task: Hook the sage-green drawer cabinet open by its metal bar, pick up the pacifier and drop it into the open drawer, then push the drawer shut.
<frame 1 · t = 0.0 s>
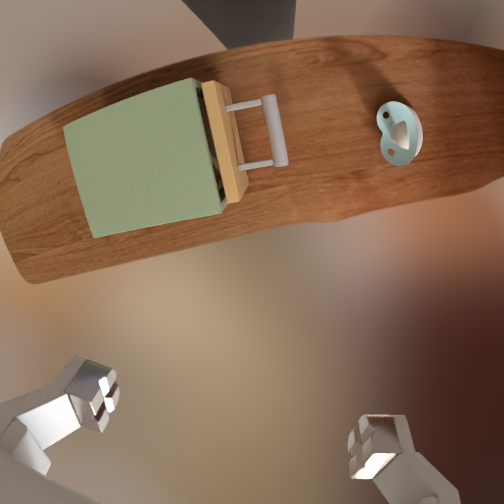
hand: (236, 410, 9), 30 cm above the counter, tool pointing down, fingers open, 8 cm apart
cabinet: (168, 152, 36), on the counter
pacifier: (398, 131, 32), on the counter
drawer: (193, 146, 31), point 5 cm above the counter, slide at 0.5 cm
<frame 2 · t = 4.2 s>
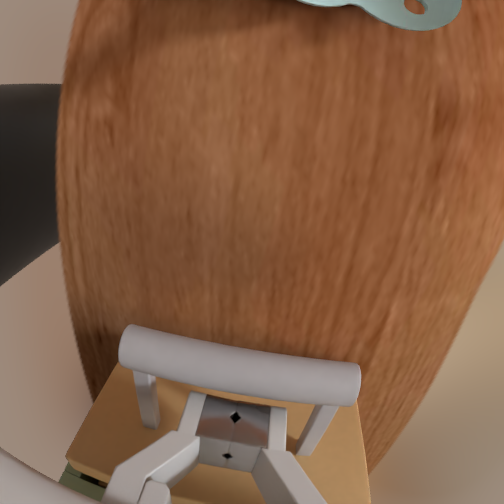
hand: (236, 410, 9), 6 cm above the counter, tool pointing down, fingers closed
cabinet: (228, 435, 19), on the counter
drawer: (222, 464, 13), point 5 cm above the counter, slide at 0.5 cm, touching gripper
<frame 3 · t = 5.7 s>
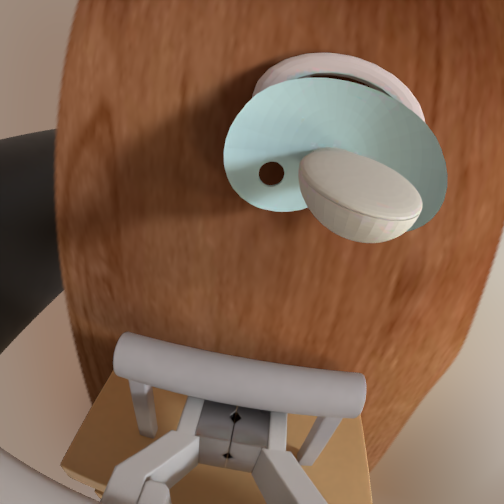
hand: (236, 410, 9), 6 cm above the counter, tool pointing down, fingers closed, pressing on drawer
pacifier: (337, 133, 11), on the counter
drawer: (221, 472, 13), point 5 cm above the counter, slide at 8.2 cm, touching gripper
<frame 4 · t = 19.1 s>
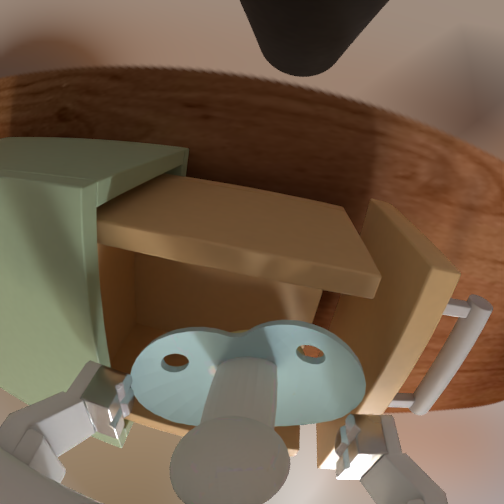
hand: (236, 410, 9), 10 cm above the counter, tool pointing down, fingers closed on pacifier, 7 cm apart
cabinet: (78, 233, 19), on the counter
pacifier: (255, 365, 11), point 8 cm above the counter, touching gripper
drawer: (285, 327, 14), point 5 cm above the counter, slide at 9.5 cm
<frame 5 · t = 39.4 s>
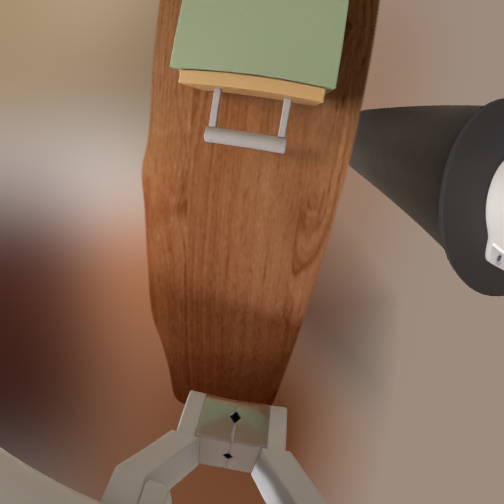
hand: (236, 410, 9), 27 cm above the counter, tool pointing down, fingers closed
cabinet: (271, 24, 26), on the counter
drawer: (261, 49, 23), point 5 cm above the counter, slide at 0.0 cm, touching pacifier
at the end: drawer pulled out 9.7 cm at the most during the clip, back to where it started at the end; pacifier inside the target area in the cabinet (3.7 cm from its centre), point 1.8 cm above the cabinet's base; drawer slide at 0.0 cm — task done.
